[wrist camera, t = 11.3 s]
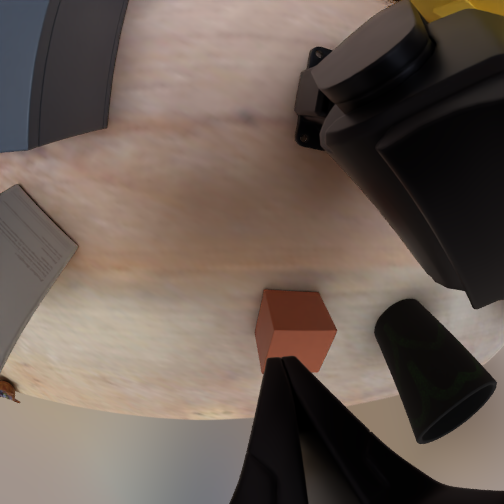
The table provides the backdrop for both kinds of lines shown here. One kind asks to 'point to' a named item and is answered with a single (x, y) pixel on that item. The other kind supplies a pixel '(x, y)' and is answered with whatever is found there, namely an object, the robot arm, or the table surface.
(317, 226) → the table surface
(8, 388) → the cat figurine
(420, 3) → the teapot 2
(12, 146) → the cabinet
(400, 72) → the robot arm
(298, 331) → the block
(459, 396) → the cup
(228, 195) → the table surface
